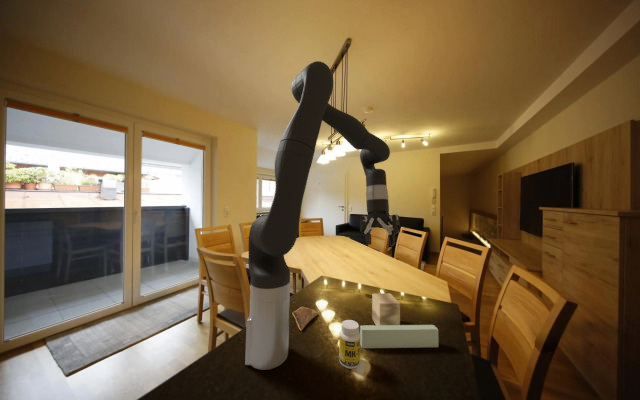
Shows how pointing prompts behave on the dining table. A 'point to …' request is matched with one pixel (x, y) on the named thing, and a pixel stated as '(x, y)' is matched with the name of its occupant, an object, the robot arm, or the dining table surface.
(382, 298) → the birch block
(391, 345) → the sage fence board
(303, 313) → the shard
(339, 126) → the robot arm
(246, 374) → the dining table surface
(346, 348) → the supplement bottle
